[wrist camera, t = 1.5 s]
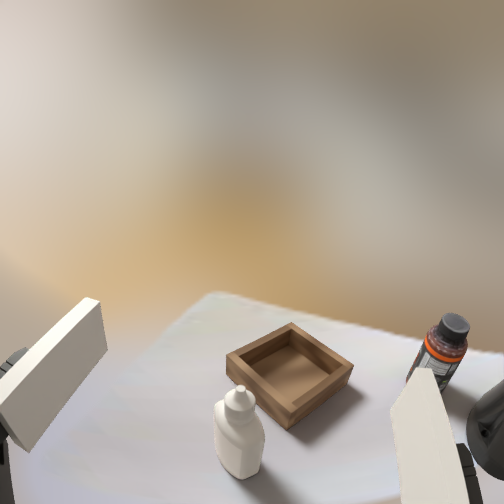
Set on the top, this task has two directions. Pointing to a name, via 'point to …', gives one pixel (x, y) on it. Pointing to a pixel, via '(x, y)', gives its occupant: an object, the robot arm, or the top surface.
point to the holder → (288, 373)
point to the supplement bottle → (443, 349)
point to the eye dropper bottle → (238, 433)
